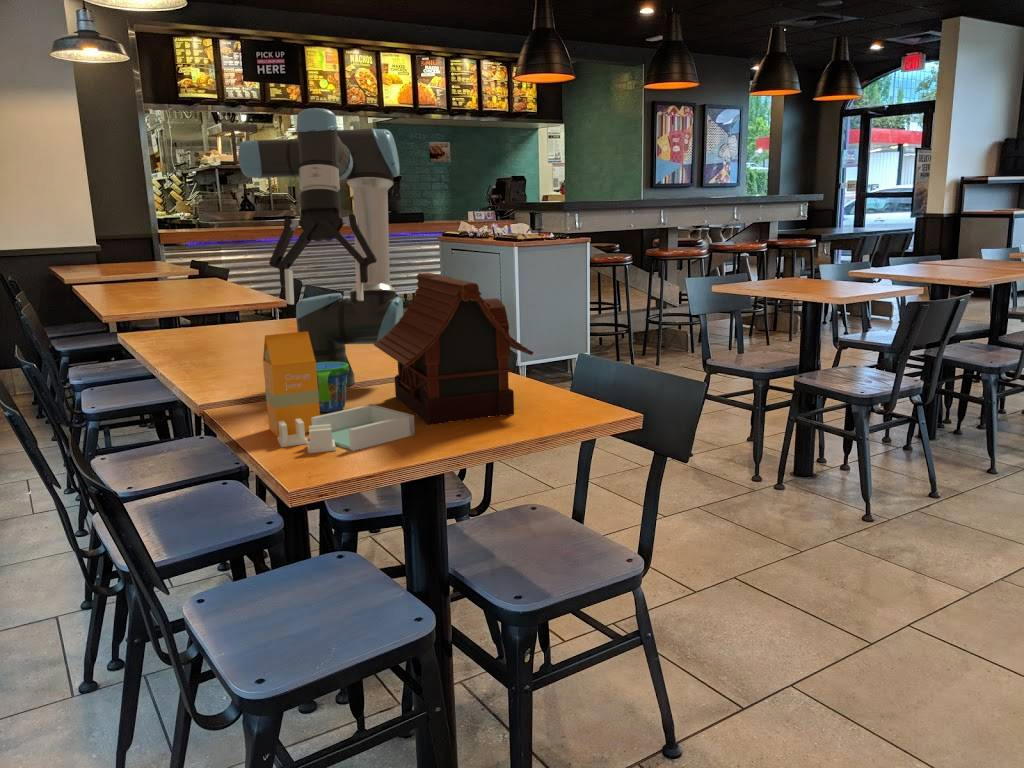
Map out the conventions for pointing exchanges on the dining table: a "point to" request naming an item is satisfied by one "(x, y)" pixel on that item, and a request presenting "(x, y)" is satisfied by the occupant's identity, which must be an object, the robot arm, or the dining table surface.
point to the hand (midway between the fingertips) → (325, 302)
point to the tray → (367, 426)
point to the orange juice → (290, 380)
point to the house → (452, 352)
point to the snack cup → (332, 385)
